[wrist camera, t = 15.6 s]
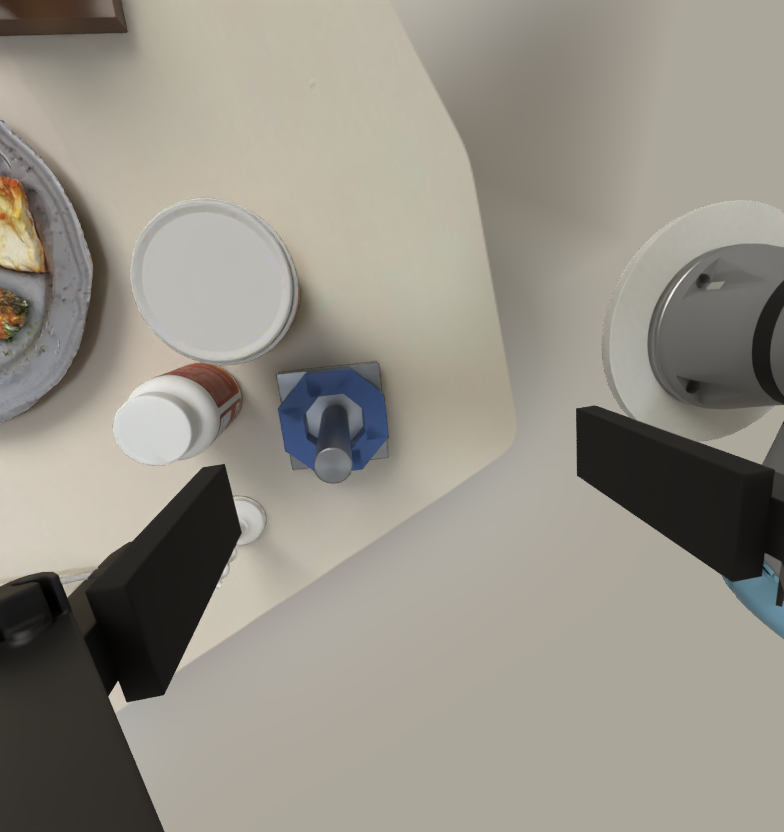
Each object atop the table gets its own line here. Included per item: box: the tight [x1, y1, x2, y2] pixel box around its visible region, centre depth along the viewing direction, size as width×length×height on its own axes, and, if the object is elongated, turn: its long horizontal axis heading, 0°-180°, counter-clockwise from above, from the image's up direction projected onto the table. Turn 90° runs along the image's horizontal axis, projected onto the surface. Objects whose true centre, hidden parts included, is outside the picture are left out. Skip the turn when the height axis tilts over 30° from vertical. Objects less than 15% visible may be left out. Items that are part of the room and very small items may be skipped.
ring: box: [278, 367, 389, 471], centre depth 35 cm, size 9×9×2 cm
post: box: [276, 361, 389, 483], centre depth 31 cm, size 9×9×14 cm
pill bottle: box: [113, 363, 241, 466], centre depth 31 cm, size 6×6×11 cm
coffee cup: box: [130, 198, 301, 365], centre depth 29 cm, size 9×9×12 cm
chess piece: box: [216, 496, 266, 589], centre depth 34 cm, size 5×5×10 cm
